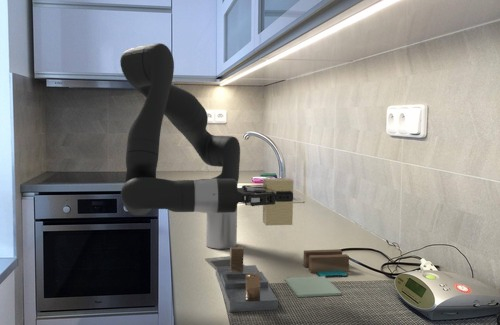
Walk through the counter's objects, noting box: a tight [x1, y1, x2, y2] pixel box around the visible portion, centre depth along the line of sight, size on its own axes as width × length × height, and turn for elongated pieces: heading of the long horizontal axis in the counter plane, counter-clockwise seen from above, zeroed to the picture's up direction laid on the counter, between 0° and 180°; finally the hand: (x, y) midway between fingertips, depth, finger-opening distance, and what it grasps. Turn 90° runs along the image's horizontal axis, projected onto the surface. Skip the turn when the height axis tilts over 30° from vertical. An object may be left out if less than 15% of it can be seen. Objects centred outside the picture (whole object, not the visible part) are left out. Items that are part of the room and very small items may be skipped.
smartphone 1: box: [204, 255, 246, 271], centre depth 138 cm, size 15×8×1 cm, turn 21°
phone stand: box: [302, 248, 350, 274], centre depth 136 cm, size 7×10×4 cm
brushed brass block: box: [262, 177, 294, 226], centre depth 118 cm, size 4×6×10 cm, turn 100°
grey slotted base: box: [215, 246, 279, 313], centre depth 118 cm, size 25×10×7 cm, turn 10°
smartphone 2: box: [315, 271, 348, 278], centre depth 136 cm, size 7×1×15 cm
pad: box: [284, 276, 342, 298], centre depth 121 cm, size 12×10×1 cm
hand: (289, 194), depth 118 cm, fingers closed on brushed brass block, 4 cm apart
